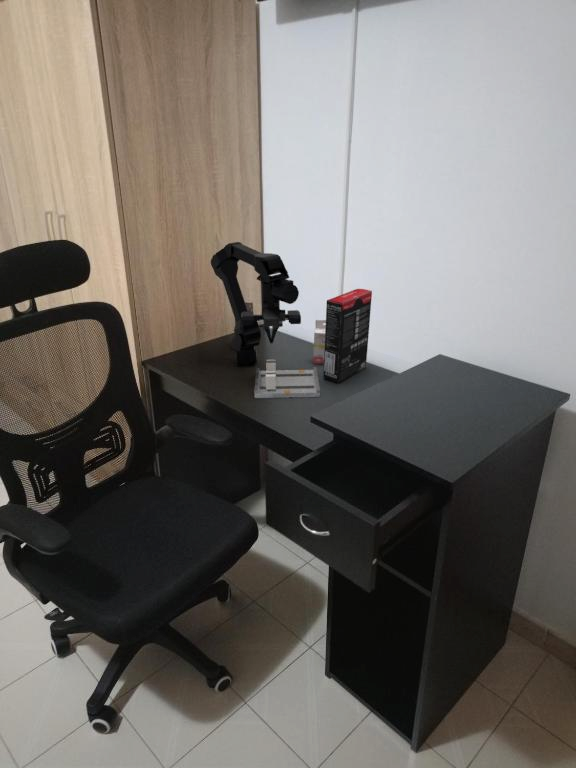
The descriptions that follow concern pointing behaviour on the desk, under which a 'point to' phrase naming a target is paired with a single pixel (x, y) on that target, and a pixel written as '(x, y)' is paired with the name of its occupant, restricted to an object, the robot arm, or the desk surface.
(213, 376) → the desk surface
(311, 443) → the desk surface
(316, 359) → the ink cartridge box
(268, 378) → the fader
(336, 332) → the graphics card box
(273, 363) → the fader
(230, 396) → the desk surface
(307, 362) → the desk surface
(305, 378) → the console
